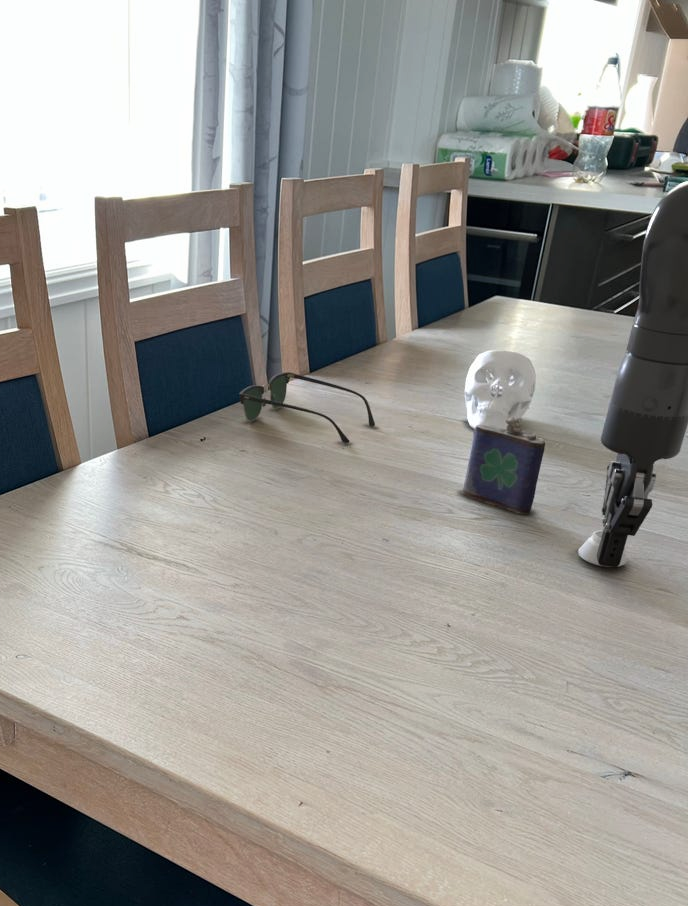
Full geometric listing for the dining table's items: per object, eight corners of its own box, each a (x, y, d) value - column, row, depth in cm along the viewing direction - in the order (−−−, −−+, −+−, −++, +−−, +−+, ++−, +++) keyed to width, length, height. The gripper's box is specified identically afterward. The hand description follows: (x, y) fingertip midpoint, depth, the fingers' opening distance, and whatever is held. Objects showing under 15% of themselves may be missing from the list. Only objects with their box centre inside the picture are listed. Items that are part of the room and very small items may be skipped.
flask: (458, 493, 123) (475, 410, 118) (470, 488, 125) (487, 406, 120) (524, 516, 118) (544, 430, 113) (535, 510, 120) (556, 425, 114)
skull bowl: (453, 422, 146) (470, 343, 146) (454, 448, 159) (470, 375, 160) (525, 432, 143) (542, 351, 143) (520, 458, 156) (536, 384, 157)
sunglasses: (340, 449, 136) (344, 414, 134) (234, 425, 143) (236, 391, 140) (382, 422, 149) (387, 389, 146) (283, 401, 156) (286, 369, 153)
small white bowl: (628, 572, 105) (621, 554, 109) (635, 547, 104) (628, 530, 108) (580, 566, 106) (575, 548, 110) (587, 541, 104) (581, 524, 109)
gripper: (706, 425, 89) (654, 594, 98) (678, 391, 101) (634, 545, 109) (621, 416, 91) (577, 583, 99) (602, 383, 102) (564, 536, 110)
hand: (607, 563), depth 104 cm, fingers closed
